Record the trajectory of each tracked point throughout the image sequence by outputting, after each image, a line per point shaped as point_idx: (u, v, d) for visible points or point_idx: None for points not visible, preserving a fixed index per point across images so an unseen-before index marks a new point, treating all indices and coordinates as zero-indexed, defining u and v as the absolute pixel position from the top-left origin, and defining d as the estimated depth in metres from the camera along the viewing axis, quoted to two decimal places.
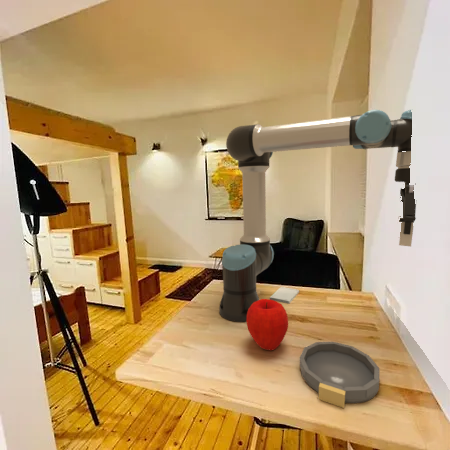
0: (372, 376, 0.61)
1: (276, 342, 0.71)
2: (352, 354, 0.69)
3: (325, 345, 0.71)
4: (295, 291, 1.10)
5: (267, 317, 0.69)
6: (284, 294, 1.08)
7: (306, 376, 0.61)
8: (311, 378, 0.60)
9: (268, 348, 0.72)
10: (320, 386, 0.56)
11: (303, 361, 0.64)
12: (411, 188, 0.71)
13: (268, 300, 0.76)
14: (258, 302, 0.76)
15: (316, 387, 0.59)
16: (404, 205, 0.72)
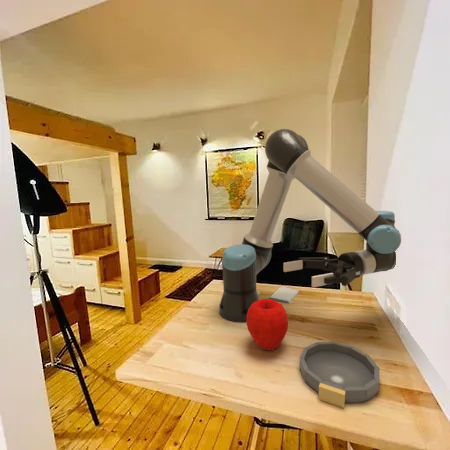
0: (372, 376, 0.61)
1: (276, 342, 0.71)
2: (352, 354, 0.69)
3: (325, 345, 0.71)
4: (295, 291, 1.10)
5: (267, 317, 0.69)
6: (284, 294, 1.08)
7: (306, 376, 0.61)
8: (311, 378, 0.60)
9: (268, 348, 0.72)
10: (320, 386, 0.56)
11: (303, 361, 0.64)
12: (359, 273, 0.75)
13: (268, 300, 0.76)
14: (258, 302, 0.76)
15: (316, 387, 0.59)
16: (348, 272, 0.73)
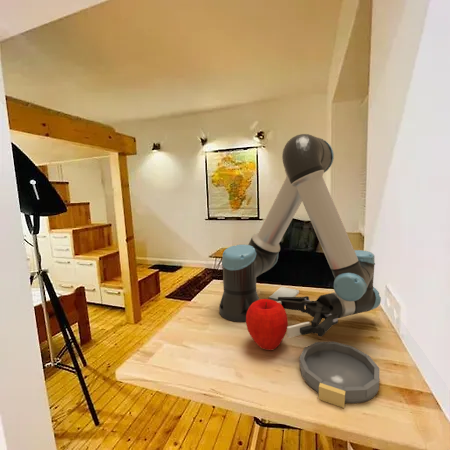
0: (372, 376, 0.61)
1: (276, 342, 0.71)
2: (352, 354, 0.69)
3: (325, 345, 0.71)
4: (295, 291, 1.10)
5: (267, 317, 0.69)
6: (284, 294, 1.08)
7: (306, 376, 0.61)
8: (311, 378, 0.60)
9: (268, 348, 0.72)
10: (320, 386, 0.56)
11: (303, 361, 0.64)
12: (336, 319, 0.74)
13: (267, 300, 0.76)
14: (257, 302, 0.75)
15: (316, 387, 0.59)
16: (324, 320, 0.71)
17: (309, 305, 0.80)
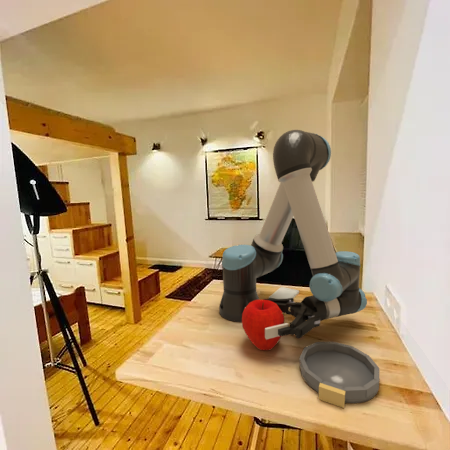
0: (372, 376, 0.61)
1: (278, 340, 0.72)
2: (352, 354, 0.69)
3: (325, 345, 0.71)
4: (295, 291, 1.10)
5: (270, 317, 0.69)
6: (284, 294, 1.08)
7: (306, 376, 0.61)
8: (311, 378, 0.60)
9: (269, 348, 0.72)
10: (320, 386, 0.56)
11: (303, 361, 0.64)
12: (318, 322, 0.72)
13: (260, 301, 0.76)
14: (253, 304, 0.74)
15: (316, 387, 0.59)
16: (305, 322, 0.70)
17: (293, 307, 0.79)
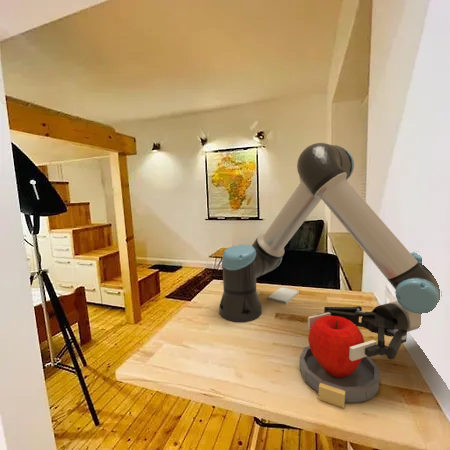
0: (372, 376, 0.61)
1: (357, 366, 0.59)
2: None
3: None
4: (294, 292, 1.09)
5: (352, 339, 0.57)
6: (283, 294, 1.07)
7: (306, 376, 0.61)
8: (311, 378, 0.60)
9: (346, 376, 0.60)
10: (320, 386, 0.56)
11: (303, 361, 0.64)
12: (405, 336, 0.60)
13: (330, 317, 0.64)
14: (323, 322, 0.62)
15: (316, 387, 0.59)
16: (393, 338, 0.58)
17: (366, 318, 0.67)
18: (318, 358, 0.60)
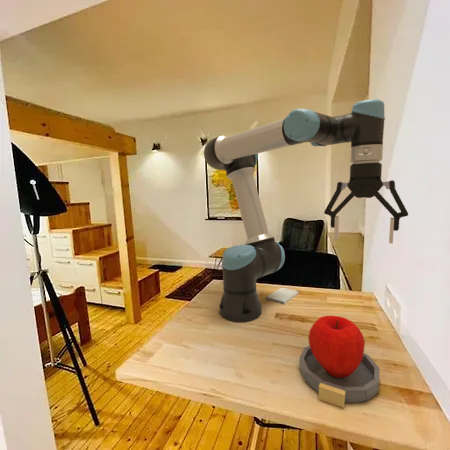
0: (372, 376, 0.61)
1: None
2: None
3: None
4: (294, 292, 1.09)
5: (352, 339, 0.57)
6: (282, 294, 1.07)
7: (306, 376, 0.61)
8: (311, 378, 0.60)
9: (347, 376, 0.60)
10: (320, 386, 0.56)
11: (303, 361, 0.64)
12: None
13: (331, 317, 0.64)
14: (324, 322, 0.62)
15: (316, 387, 0.59)
16: None
17: None
18: (318, 358, 0.60)
